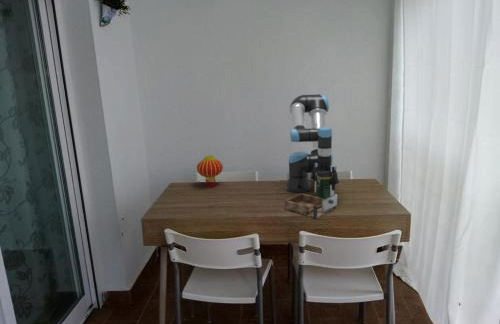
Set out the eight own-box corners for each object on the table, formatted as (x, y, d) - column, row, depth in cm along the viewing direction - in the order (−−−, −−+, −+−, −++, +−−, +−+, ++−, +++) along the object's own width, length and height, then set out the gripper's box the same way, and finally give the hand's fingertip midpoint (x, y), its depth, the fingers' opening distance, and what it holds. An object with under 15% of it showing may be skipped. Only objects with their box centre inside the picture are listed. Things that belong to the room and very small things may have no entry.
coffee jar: (333, 202, 202) (334, 170, 197) (320, 204, 201) (320, 171, 197) (328, 197, 211) (328, 166, 207) (314, 198, 210) (314, 167, 206)
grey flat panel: (322, 211, 187) (322, 200, 185) (335, 204, 196) (335, 193, 194) (325, 212, 185) (325, 201, 184) (338, 205, 194) (339, 194, 193)
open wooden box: (284, 209, 195) (284, 198, 194) (301, 201, 206) (301, 190, 204) (316, 218, 181) (316, 206, 180) (332, 209, 192) (333, 198, 190)
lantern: (199, 190, 233) (196, 144, 225) (197, 183, 249) (193, 140, 242) (225, 187, 236) (223, 142, 229) (221, 180, 253) (218, 138, 246)
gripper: (304, 153, 205) (304, 191, 210) (338, 159, 190) (337, 199, 195) (311, 151, 210) (311, 188, 215) (346, 156, 195) (345, 195, 200)
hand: (324, 193), depth 205 cm, fingers closed on coffee jar, 9 cm apart
